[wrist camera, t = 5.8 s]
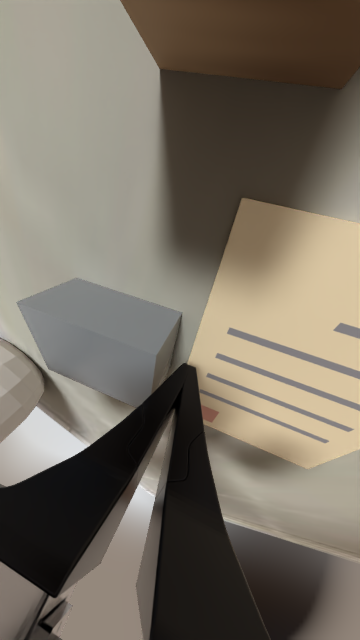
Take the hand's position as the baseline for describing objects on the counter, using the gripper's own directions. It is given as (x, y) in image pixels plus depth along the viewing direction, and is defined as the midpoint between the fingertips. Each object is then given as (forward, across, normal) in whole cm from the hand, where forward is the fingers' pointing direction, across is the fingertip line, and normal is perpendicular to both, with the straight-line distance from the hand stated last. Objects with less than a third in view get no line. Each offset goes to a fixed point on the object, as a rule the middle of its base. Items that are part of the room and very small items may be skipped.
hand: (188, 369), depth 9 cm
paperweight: (+1, +5, 0) cm, 5 cm away
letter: (+1, -6, 0) cm, 6 cm away
